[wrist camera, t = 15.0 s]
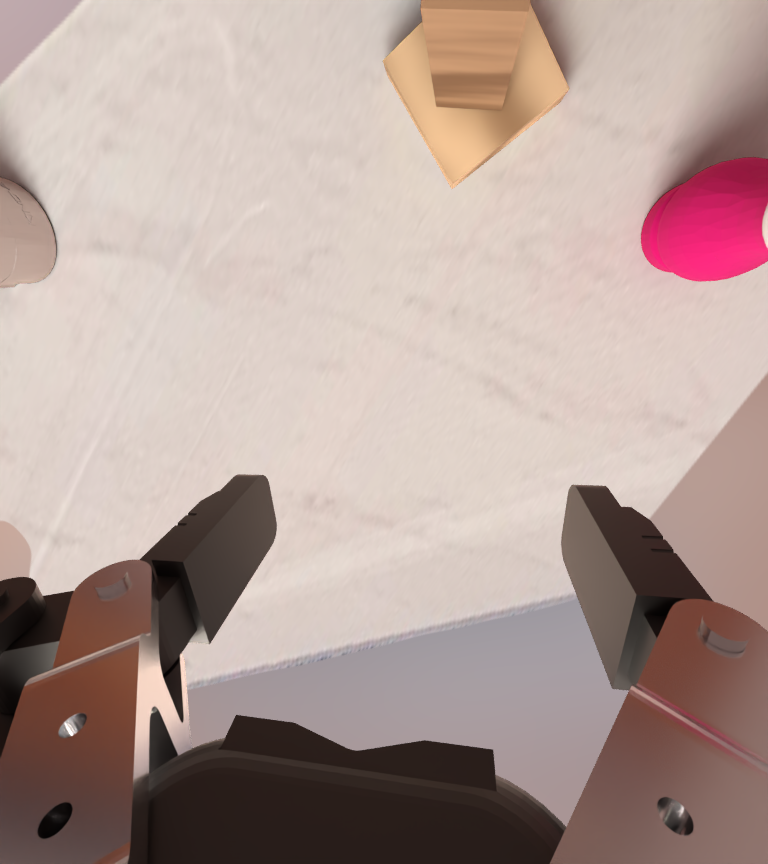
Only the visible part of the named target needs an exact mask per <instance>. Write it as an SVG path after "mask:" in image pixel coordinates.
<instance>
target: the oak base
mask: <svg viewBox="0 0 768 864" xmlns="http://www.w3.org/2000/svg"><path fill="white" fill-rule="evenodd" d="M383 63H384V66H385V69H386V72H387V75H388V77H389V79H390V81H391V83H392V84H393V86H394V88H395V90H396V91H397V93H398V95H399V97H400V99H401V100H402V102H403V104H404V106H405V107H406V109H407V111H408V113H409V114H410V116H411V118H412V120H413V121H414V123H415V125H416V127H417V128H418V130H419V132H420V134H421V136H422V137H423V139H424V141H425V143H426V144H427V146H428V148H429V150H430V151H431V153H432V155H433V157H434V158H435V160H436V162H437V164H438V165H439V167H440V169H441V171H442V173H443V174H444V176H445V178H446V180H447V181H448V183H449V185H450V187H451V188H452V189H453V188H454V187H455V186H457V185H458V184H459V183H460V182H462V181H463V180H464V179H465V178H467V177H468V176H469V175H470V174H471V173H473V172H474V171H475V170H476V169H478V168H479V167H480V166H481V165H483V164H484V163H485V162H486V161H488V160H489V159H490V158H491V157H493V156H494V155H495V154H496V153H498V152H499V151H500V150H501V149H503V148H504V147H505V146H506V145H508V144H509V143H510V142H511V141H513V140H514V139H515V138H516V137H518V136H519V135H520V134H521V133H523V132H524V131H525V130H526V129H528V128H529V127H530V126H531V125H533V124H534V123H535V122H536V121H538V120H539V119H540V118H541V117H543V116H544V115H545V114H546V113H548V112H549V111H550V110H551V109H553V108H554V107H555V106H556V105H558V104H559V103H560V102H561V100H562V99H563V97H564V96H565V94H566V93H567V92H568V90H569V87H568V85H567V82H566V80H565V78H564V76H563V74H562V72H561V69H560V67H559V65H558V63H557V61H556V59H555V56H554V54H553V52H552V50H551V48H550V45H549V43H548V41H547V39H546V37H545V35H544V32H543V30H542V28H541V26H540V24H539V22H538V19H537V17H536V15H535V13H534V11H533V8H532V6H531V4H530V7H529V12H528V16H527V19H526V23H525V27H524V30H523V34H522V38H521V41H520V45H519V49H518V52H517V56H516V60H515V63H514V67H513V70H512V74H511V78H510V81H509V85H508V89H507V92H506V96H505V100H504V103H503V107H502V111H496V110H479V109H463V108H447V107H436V102H435V96H434V90H433V83H432V77H431V71H430V65H429V58H428V52H427V46H426V40H425V34H424V27H423V21H422V22H421V23H420V24H419V25H418V26H417V27H416V28H415V29H414V30H413V31H412V32H411V33H410V34H409V35H408V36H407V37H406V38H405V39H404V40H403V41H402V42H401V43H400V44H399V45H398V46H397V47H396V48H395V49H394V50H393V51H392V52H391V53H390V54H389V55H388V56H387V57H386V58H385V59H384V60H383Z"/></svg>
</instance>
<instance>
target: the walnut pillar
mask: <svg viewBox="0 0 768 864" xmlns="http://www.w3.org/2000/svg"><path fill="white" fill-rule="evenodd" d="M530 1H531V0H421V8H420V9H421V15H422V21H423V27H424V34H425V40H426V46H427V52H428V58H429V65H430V71H431V77H432V83H433V90H434V96H435V102H436V107H447V108H463V109H479V110H496V111H502V107H503V103H504V100H505V96H506V92H507V89H508V85H509V81H510V78H511V74H512V70H513V67H514V63H515V60H516V56H517V52H518V49H519V45H520V41H521V38H522V34H523V30H524V27H525V23H526V19H527V16H528V12H529V7H530Z"/></svg>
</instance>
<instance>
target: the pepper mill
mask: <svg viewBox="0 0 768 864" xmlns="http://www.w3.org/2000/svg"><path fill="white" fill-rule="evenodd" d="M641 244H642V250H643V252H644V255H645V257H646V258H647V260H648V261H649V262H650V263H651V264H652V265H653V266H654V267H656V268H658V269H660V270H662V271H666V272H673V273H674V274H676V275H678V276H680V277H682V278H685V279H688V280H692V281H716V280H722V279H728V278H731V277H734V276H738V275H740V274H743V273H746V272H748V271H750V270H753V269H755V268H757V267H759V266H760V265H762V264H764V263H765V262H767V261H768V159H763V158H757V157H750V158H739V159H734V160H730V161H725V162H721V163H718V164H716V165H713V166H710V167H708V168H706V169H705V170H703V171H701V172H699V173H698V174H696V175H695V176H693V177H692V178H691V179H689V180H688V181H687V182H686V183H684V184H681V185H679V186H677V187H675V188H673V189H672V190H670V191H669V192H667V193H666V194H665V195H663V196H662V197H661V198H660V199H659V200H658V201H657V203H656V204H655V205H654V206H653V207H652V209H651V210H650V212H649V214H648V215H647V217H646V220H645V222H644V225H643V229H642V234H641Z"/></svg>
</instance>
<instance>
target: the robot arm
mask: <svg viewBox="0 0 768 864" xmlns="http://www.w3.org/2000/svg"><path fill="white" fill-rule="evenodd" d="M55 259H56V243H55V237H54V233H53V230H52V227H51V224H50V222H49V220H48V218H47V216H46V214H45V212H44V211H43V209H42V208H41V207H40V205H39V204H38V202H37V201H36V200H35V199H34V198H33V197H32V196H31V195H30V194H29V193H28V192H27V191H26V190H25V189H23V188H22V187H21V186H19V185H18V184H16V183H14V182H12V181H10V180H7V179H4V178H0V288H7V287H14V286H15V285H16V284H24V283H34V282H39V281H41V280H42V279H44V278H46V277H47V276H48V274H49V273H50V272H51V270H52V268H53V266H54V263H55ZM276 529H277V524H276V517H275V512H274V507H273V502H272V497H271V491H270V486H269V482H268V479H267V478H266V476H264V475H240V474H239V475H236V476H235V477H233V478H232V479H231V480H230V481H229V482H228V483H227V484H226V485H225V486H224V487H223V488H222V489H221V490H220V491H218V492H216V493H214V494H212V495H211V496H209V497H207V498H205V499H204V500H202V501H200V502H199V503H198V504H197V505H196V506H195V507H194V508H193V509H192V510H191V511H190V512H189V513H188V516H185V517H184V518H183V519H182V520H180V521H179V522H178V526H174V527H173V528H172V529H171V530H170V531H169V532H168V533H167V534H166V535H165V536H164V537H163V538H162V539H161V540H160V541H159V542H158V543H157V544H155V545H154V546H153V547H152V548H151V549H150V550H149V551H148V552H147V553H146V554H145V555H144V556H143V557H142V558H141V559H140V560H127V561H122V562H118V563H115V564H112V565H109V566H107V567H105V568H102V569H101V570H99V571H97V572H95V573H94V574H92V575H90V576H89V577H88V578H86V579H85V580H84V581H83V582H82V583H81V584H79V586H78V587H77V588H76V589H75V591H70V592H64V593H58V594H52V595H47V596H42V594H41V592H40V590H39V588H38V586H37V584H36V582H35V581H34V580H33V579H31V578H28V577H17V578H11V579H6V580H3V581H0V864H768V631H767V630H766V629H764V628H763V627H762V626H761V625H760V624H758V623H757V622H756V621H754V620H753V619H751V618H750V617H748V616H746V615H744V614H743V613H741V612H739V611H737V610H735V609H733V608H730V607H728V606H725V605H722V604H720V603H716V602H714V601H713V600H712V599H711V598H710V596H709V595H708V594H707V593H706V591H705V590H704V589H703V587H702V586H701V585H700V583H699V582H698V581H697V580H696V578H695V577H694V576H693V575H692V573H691V572H690V571H689V569H688V568H687V567H686V565H685V564H684V563H683V562H682V560H681V559H680V558H679V557H678V555H677V554H676V553H674V552H673V549H672V547H671V546H670V545H669V544H668V542H667V541H666V540H663V536H662V535H661V533H660V532H659V531H658V529H657V528H656V527H655V526H654V524H653V523H652V522H651V521H650V520H649V519H647V518H646V517H645V516H643V515H642V514H640V513H639V512H637V511H636V510H634V509H633V508H631V507H621V506H620V505H619V503H618V502H617V500H616V499H615V498H614V496H613V495H612V493H611V492H610V490H609V489H608V488H607V487H606V486H593V485H572V486H571V487H570V489H569V492H568V498H567V504H566V511H565V518H564V524H563V531H562V540H561V545H562V555H563V560H564V563H565V566H566V568H567V571H568V574H569V576H570V579H571V581H572V584H573V587H574V589H575V592H576V594H577V597H578V600H579V602H580V605H581V608H582V610H583V613H584V615H585V618H586V621H587V623H588V626H589V628H590V631H591V633H592V636H593V639H594V641H595V644H596V647H597V650H598V652H599V655H600V657H601V660H602V663H603V665H604V668H605V671H606V673H607V676H608V678H609V681H610V684H611V686H612V688H613V689H620V690H629V692H628V694H627V696H626V699H625V701H624V703H623V705H622V707H621V709H620V711H619V714H618V716H617V718H616V720H615V722H614V725H613V727H612V729H611V731H610V733H609V735H608V738H607V740H606V742H605V744H604V746H603V749H602V751H601V753H600V755H599V757H598V760H597V762H596V764H595V766H594V768H593V771H592V773H591V775H590V777H589V779H588V781H587V783H586V786H585V788H584V790H583V792H582V795H581V797H580V799H579V801H578V803H577V806H576V807H575V810H574V812H573V814H572V816H571V818H570V821H569V823H568V825H567V827H566V826H565V825H563V823H562V822H561V821H560V820H559V819H558V818H556V816H555V815H554V814H552V813H551V812H550V811H549V810H548V809H547V808H546V807H545V806H544V805H543V804H541V803H540V802H539V801H538V800H536V799H535V798H534V797H532V796H531V795H530V794H529V793H527V792H526V791H524V790H523V789H521V788H519V787H518V786H516V785H514V784H513V783H511V782H510V781H508V780H505V779H503V778H501V777H499V776H497V775H495V766H494V754H493V750H491V749H483V748H477V747H469V746H462V745H454V744H447V743H440V742H432V741H418V742H412V743H405V744H400V745H393V746H386V747H380V748H374V749H367V750H361V751H354V750H350V749H347V748H345V747H343V746H341V745H339V744H337V743H335V742H333V741H331V740H329V739H327V738H324V737H322V736H320V735H318V734H316V733H314V732H312V731H310V730H308V729H306V728H304V727H302V726H300V725H298V724H296V723H292V722H284V721H277V720H270V719H261V718H254V717H247V716H239V715H236V716H235V718H234V721H233V723H232V725H231V727H230V729H229V731H228V733H227V735H226V737H225V738H223V739H219V740H215V741H212V742H209V743H205V744H202V745H200V746H197V747H195V748H193V747H192V741H191V735H190V724H189V711H188V696H187V683H186V670H185V660H184V657H183V654H182V651H183V650H184V648H185V647H186V646H187V644H188V643H189V642H191V643H201V644H210V643H211V641H212V640H213V638H214V637H215V635H216V633H217V632H218V630H219V629H220V627H221V625H222V624H223V622H224V621H225V619H226V617H227V616H228V614H229V613H230V611H231V609H232V608H233V606H234V605H235V603H236V601H237V600H238V598H239V597H240V595H241V594H242V592H243V590H244V589H245V587H246V586H247V584H248V582H249V581H250V579H251V578H252V576H253V574H254V573H255V571H256V570H257V568H258V566H259V565H260V563H261V562H262V560H263V559H264V557H265V555H266V554H267V552H268V551H269V549H270V547H271V546H272V544H273V542H274V539H275V536H276Z"/></svg>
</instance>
